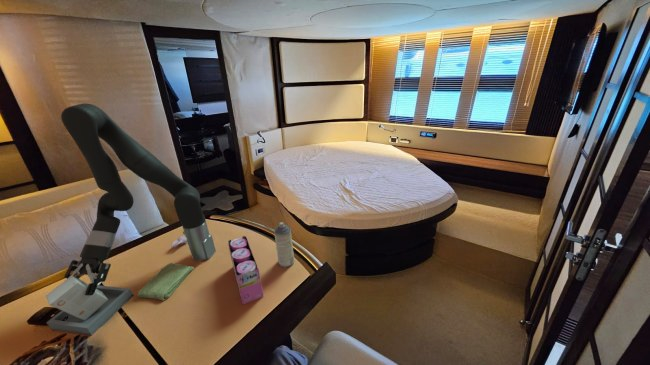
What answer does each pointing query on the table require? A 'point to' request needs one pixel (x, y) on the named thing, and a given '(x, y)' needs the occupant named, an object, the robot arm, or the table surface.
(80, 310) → the small box
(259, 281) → the gum box
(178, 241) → the pale purple eggplant
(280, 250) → the aerosol can
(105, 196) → the robot arm
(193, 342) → the table surface
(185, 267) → the washcloth
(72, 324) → the bin
